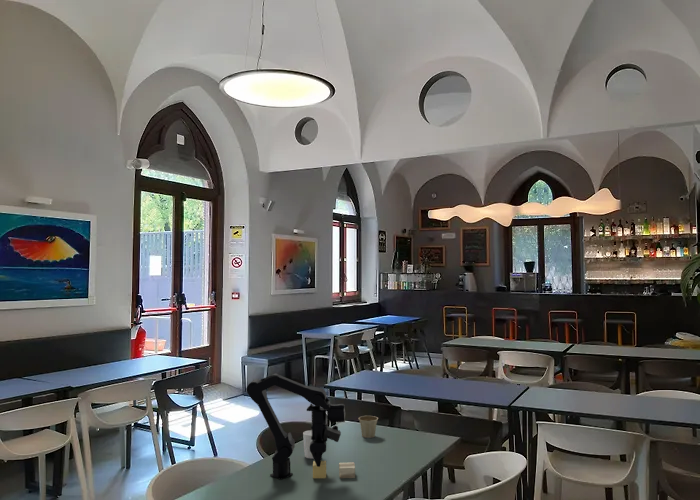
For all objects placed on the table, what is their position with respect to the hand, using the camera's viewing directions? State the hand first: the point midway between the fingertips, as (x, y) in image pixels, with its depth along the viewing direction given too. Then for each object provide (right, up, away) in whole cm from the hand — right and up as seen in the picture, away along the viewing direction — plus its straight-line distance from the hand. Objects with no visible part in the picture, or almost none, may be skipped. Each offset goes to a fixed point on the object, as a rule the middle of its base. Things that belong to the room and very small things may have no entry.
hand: (319, 462), depth 216 cm
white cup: (-4, -6, +23) cm, 24 cm away
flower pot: (+21, -7, +50) cm, 55 cm away
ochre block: (0, -5, 0) cm, 5 cm away
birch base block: (+11, -5, 0) cm, 12 cm away
